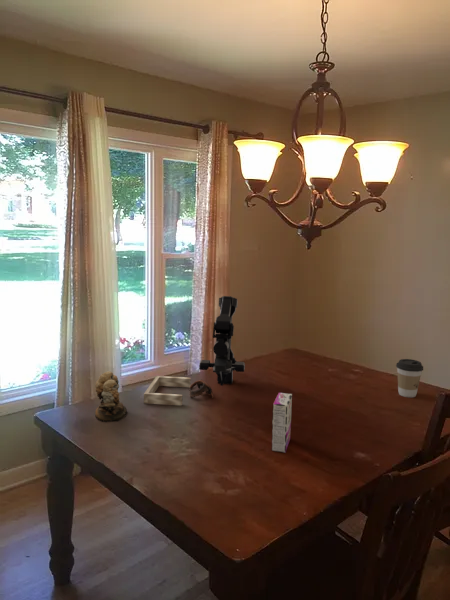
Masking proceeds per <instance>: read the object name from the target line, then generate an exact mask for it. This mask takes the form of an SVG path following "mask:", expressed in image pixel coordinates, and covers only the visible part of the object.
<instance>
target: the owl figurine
mask: <svg viewBox="0 0 450 600" xmlns="http://www.w3.org/2000/svg"><path fill="white" fill-rule="evenodd" d="M119 388H120V384H119V379H118V376H117V375H115V374H114V373H113V372H112V371H105V372H103V373H102V374H100V375H99V377H98V379H97V380H96V381H95V392H96V396H97V398H98V400H100V404H99V405H98V406H97V407H96V409H95V412H94V414H95V418H96V419H97V420H98V421H100V422H105V423H110V422H118V421H122V420H123V419H124V418H125V417H126V416H127V414H128V409H127V407H126V406H125V405H124V404H123V402H121V401H120V393H119Z"/></svg>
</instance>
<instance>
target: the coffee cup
mask: <svg viewBox="0 0 450 600" xmlns="http://www.w3.org/2000/svg"><path fill="white" fill-rule="evenodd" d="M395 367H396V370H397V390H398V395H399V396H401V397H404V398H415V397H416V396H417V393H418V389H419V386H420V381H421V376H422V373H423V371H424V366H423V364H422V362H421V361H419V360H416V359H413V358H411V359H410V358H401V359H399V360H398V361H397V363H396V365H395Z"/></svg>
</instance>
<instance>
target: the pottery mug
mask: <svg viewBox="0 0 450 600" xmlns="http://www.w3.org/2000/svg"><path fill="white" fill-rule="evenodd" d="M196 386H197V388H198V389H197V390H192V389H194V388H195V387H196ZM188 390H189V397H190V398H196V397H200V396H204V392H205V394H206V395H211V399H214V394H213V389H212V387H211V385H209V384H208V383H207V382H205V381H204V380H203V379H199V380H196V381H194V382H192V383H191V386H190V387H189V389H188Z"/></svg>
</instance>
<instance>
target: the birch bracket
mask: <svg viewBox="0 0 450 600" xmlns="http://www.w3.org/2000/svg"><path fill="white" fill-rule="evenodd" d="M191 379H192V377H186V376H185V377H183V376H164V375H156V376H155V378H154V379H153V380H152V382H151V383H150V385H149V386H148V387H147V389H146V390H145V391H144V393H143V404H148V405H149V404H150V405H167V406H168V405H170V406H183V394H174V393H159V392H156V391H157V390H158V389H159V387H163V386H164V387H175V388H177V387H178V388H190V386H191V385H192V383H191V381H192V380H191Z"/></svg>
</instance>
